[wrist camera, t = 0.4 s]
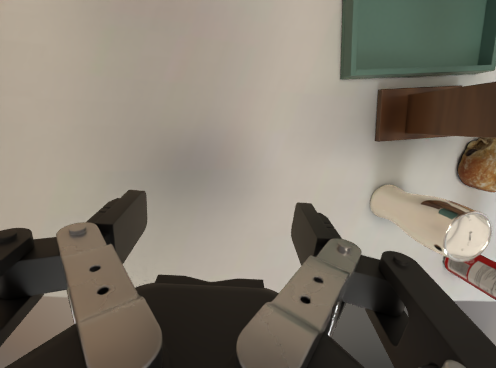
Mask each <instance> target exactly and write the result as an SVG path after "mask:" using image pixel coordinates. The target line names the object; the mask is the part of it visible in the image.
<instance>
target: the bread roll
mask: <svg viewBox="0 0 496 368" xmlns="http://www.w3.org/2000/svg"><path fill="white" fill-rule="evenodd" d="M458 174H459V177H460V179H461V180H462V182H463V183H464V184H466V185H468V186H471V187H474V188H477V189H481V190H484V191H488V192H496V138H488V137H481V138H479V139H478V140H477V141H471V142H470V143H469V144H468V146H467V149H466V151H465V153H464V154H463V156H462V159H461V162H460V164H459V167H458Z"/></svg>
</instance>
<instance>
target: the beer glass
mask: <svg viewBox="0 0 496 368" xmlns="http://www.w3.org/2000/svg"><path fill="white" fill-rule="evenodd" d="M370 208H371V210H372V212H373V213H374V214H375V215H376V216H378V217H381V218H385V219H388V220H390V221H392V222H393V223H395V224H396V225H397V226H398V227H399V228H400V229H402V230H403V231H404V232H405V233H406V234H407V235H409V236H410V237H411V238H413V239H414V240H415V241H417V242H418V243H420V244H422V245H423V246H425V247H427V248H429V249H431V250H433V251H435V252H437V253H439V254H441V255H443V256H446V257H448V258H450V259H451V260H453V261H456V262H466V261H469V260H472V259H474V258H476V257H477V256H478V255H480V254H481V253H482V252H483V251H484V250H485V248H486V247H487V245H488V244H489V242H490V239H491V236H492V224H491V221H490V220H489V218H488V217H487V216H486V215H485V214H483V213H481V212H477V211H475V210H473V209H470V208H468V207H466V206H463V205H461V204H458V203H455V202H452V201H449V200H446V199H442V198H438V197H433V196H426V195H418V194H411V193H407V192H405V191H403V190H401V189H400V188H398V187H396V186H394V185H383V186H381V187H379V188H378V189H377V190H376V191H375V192H374V193H373V195H372V197H371V200H370Z"/></svg>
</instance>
